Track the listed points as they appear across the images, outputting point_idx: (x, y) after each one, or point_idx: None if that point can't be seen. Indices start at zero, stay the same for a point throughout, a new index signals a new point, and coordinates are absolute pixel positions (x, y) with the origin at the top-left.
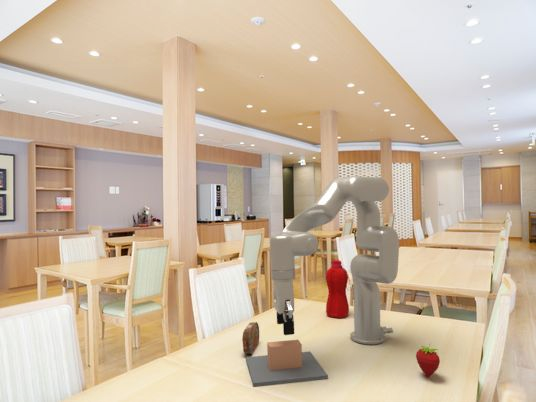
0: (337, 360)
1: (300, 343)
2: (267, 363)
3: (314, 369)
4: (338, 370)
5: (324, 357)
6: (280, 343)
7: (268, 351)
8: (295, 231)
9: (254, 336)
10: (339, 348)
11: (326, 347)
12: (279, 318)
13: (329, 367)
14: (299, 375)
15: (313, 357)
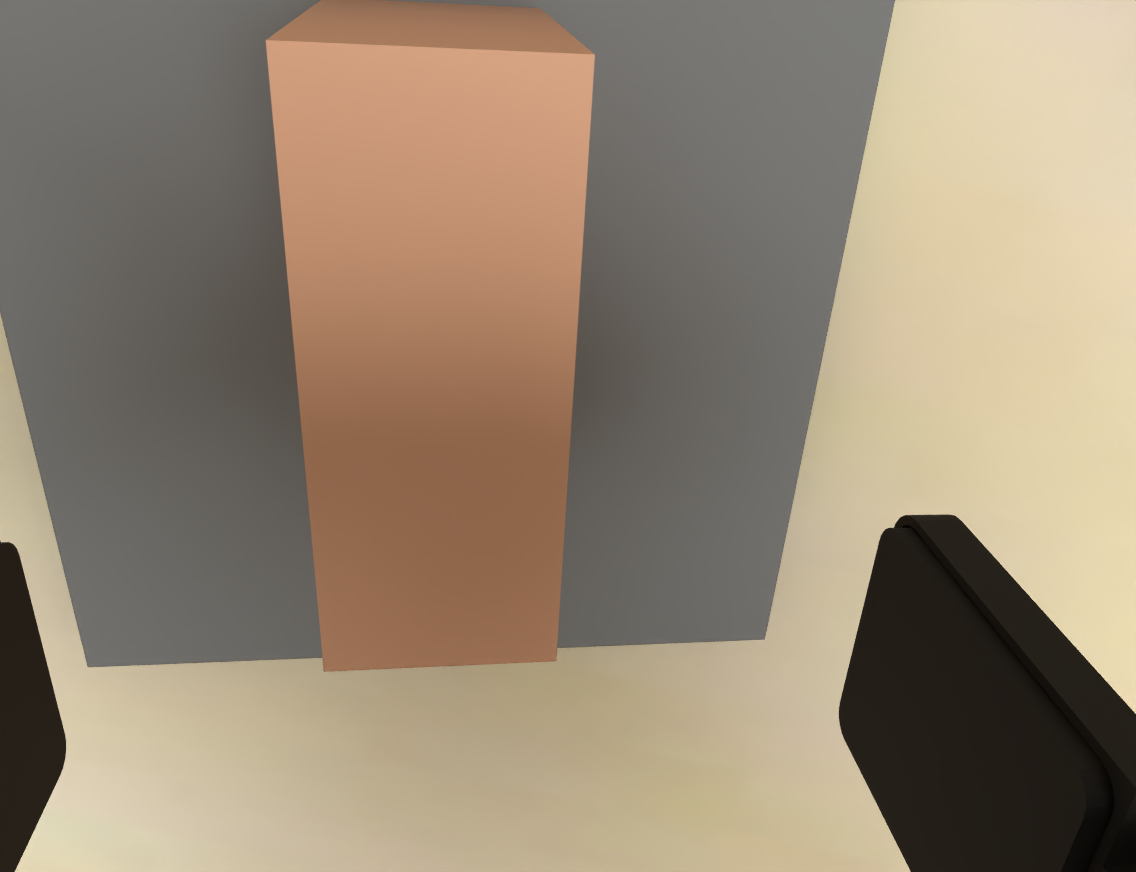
0: (519, 801)
1: (364, 663)
2: (582, 14)
3: (260, 578)
4: (291, 763)
5: (626, 719)
6: (444, 335)
7: (446, 29)
8: None
9: None
10: (776, 867)
11: (850, 782)
12: (952, 672)
13: (376, 709)
14: (102, 380)
15: (588, 636)
